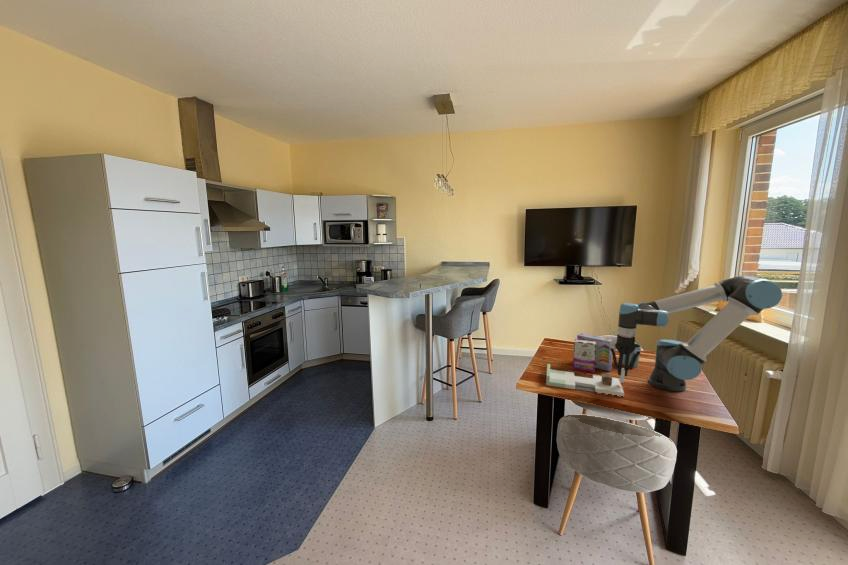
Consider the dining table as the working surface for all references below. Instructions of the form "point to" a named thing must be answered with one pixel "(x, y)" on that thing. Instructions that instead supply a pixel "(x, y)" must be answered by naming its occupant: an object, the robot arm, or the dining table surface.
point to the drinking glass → (632, 356)
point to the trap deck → (582, 382)
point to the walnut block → (606, 379)
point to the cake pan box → (600, 350)
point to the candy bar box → (584, 355)
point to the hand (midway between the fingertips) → (621, 381)
